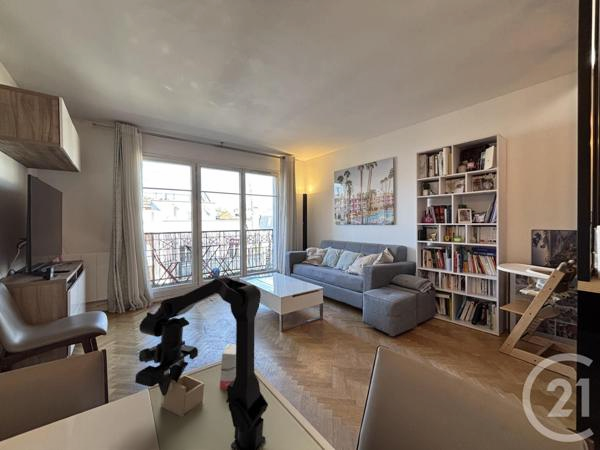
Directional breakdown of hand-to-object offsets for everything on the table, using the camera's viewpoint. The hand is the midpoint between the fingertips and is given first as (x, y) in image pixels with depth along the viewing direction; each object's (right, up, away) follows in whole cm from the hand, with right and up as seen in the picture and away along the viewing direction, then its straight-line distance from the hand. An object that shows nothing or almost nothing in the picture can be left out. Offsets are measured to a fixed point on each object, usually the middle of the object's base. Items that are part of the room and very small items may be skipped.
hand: (167, 392), depth 74 cm
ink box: (+14, -7, +16) cm, 22 cm away
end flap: (+1, -5, -1) cm, 5 cm away
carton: (+3, -6, +3) cm, 7 cm away
